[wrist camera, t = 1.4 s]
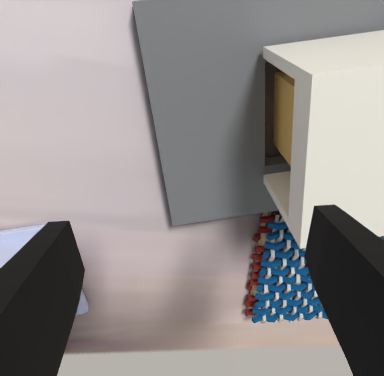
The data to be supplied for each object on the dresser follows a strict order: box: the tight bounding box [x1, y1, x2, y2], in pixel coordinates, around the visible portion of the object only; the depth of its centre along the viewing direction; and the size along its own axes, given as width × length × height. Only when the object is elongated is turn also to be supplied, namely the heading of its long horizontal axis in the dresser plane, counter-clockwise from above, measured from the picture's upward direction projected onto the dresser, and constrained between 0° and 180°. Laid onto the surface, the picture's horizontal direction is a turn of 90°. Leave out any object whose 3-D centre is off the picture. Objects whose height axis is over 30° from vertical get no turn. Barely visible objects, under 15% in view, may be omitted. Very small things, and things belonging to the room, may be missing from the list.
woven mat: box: [245, 211, 384, 324], centre depth 24 cm, size 10×11×2 cm
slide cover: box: [263, 30, 384, 249], centre depth 15 cm, size 6×7×6 cm
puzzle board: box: [132, 0, 384, 226], centre depth 18 cm, size 18×12×1 cm, turn 96°
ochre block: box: [274, 72, 295, 166], centre depth 16 cm, size 4×4×5 cm
